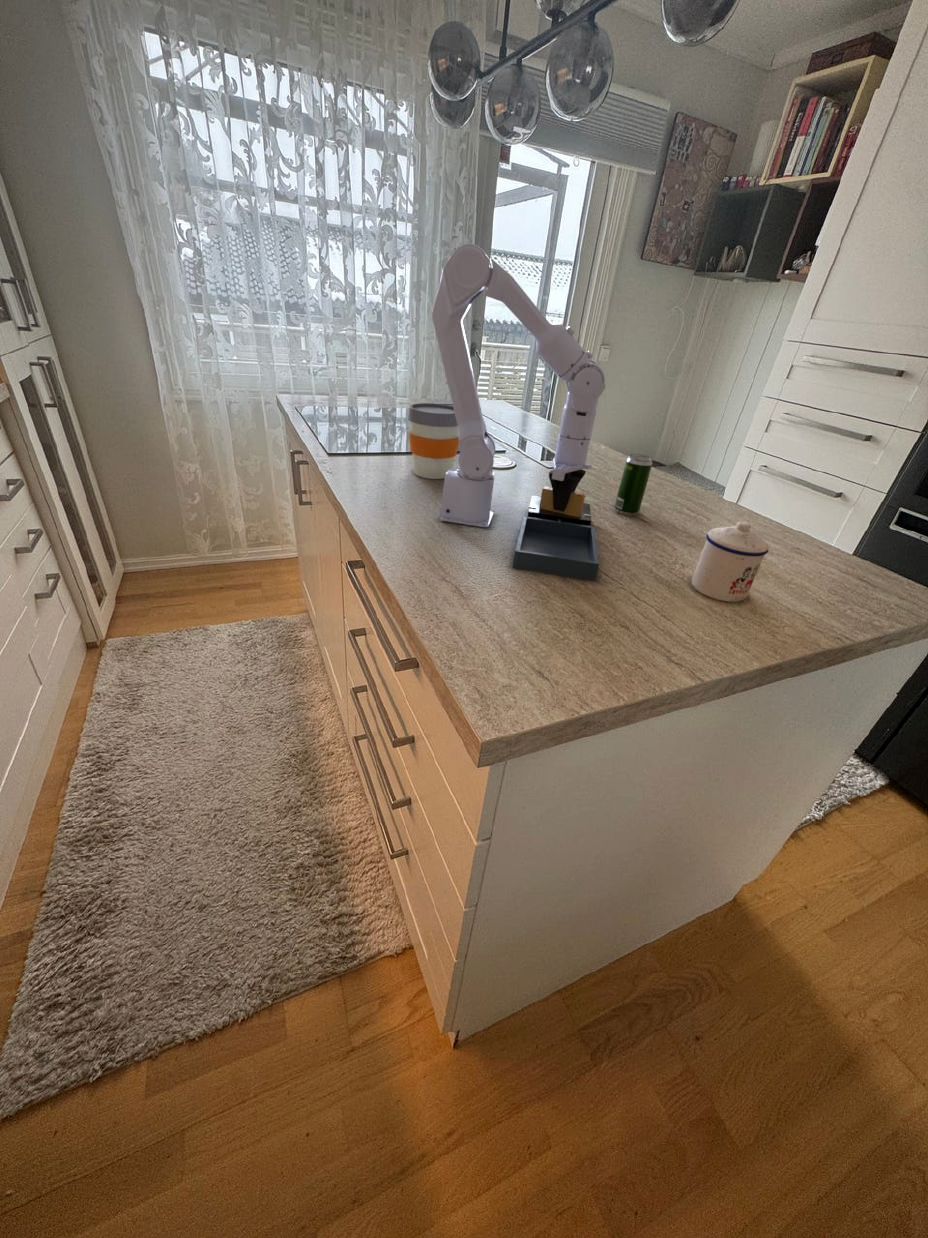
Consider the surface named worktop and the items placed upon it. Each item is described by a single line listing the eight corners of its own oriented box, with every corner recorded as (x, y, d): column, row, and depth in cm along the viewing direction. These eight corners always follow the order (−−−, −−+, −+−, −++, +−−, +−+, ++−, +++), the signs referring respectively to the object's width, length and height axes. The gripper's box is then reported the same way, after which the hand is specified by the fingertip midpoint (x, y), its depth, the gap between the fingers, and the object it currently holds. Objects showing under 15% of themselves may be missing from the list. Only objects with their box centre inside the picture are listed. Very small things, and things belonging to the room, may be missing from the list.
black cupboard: (528, 511, 109) (531, 494, 107) (586, 519, 108) (590, 503, 106) (523, 535, 98) (526, 517, 96) (588, 545, 96) (592, 526, 94)
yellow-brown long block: (539, 508, 101) (542, 486, 99) (541, 505, 102) (545, 484, 100) (578, 517, 98) (583, 496, 96) (581, 514, 100) (585, 493, 97)
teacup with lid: (734, 609, 80) (764, 539, 74) (679, 586, 85) (703, 519, 79) (762, 588, 87) (791, 523, 81) (710, 567, 92) (734, 505, 86)
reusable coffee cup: (457, 483, 121) (462, 416, 113) (403, 478, 120) (405, 410, 112) (458, 468, 131) (463, 405, 124) (409, 463, 131) (411, 400, 123)
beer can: (627, 517, 111) (642, 461, 105) (608, 509, 115) (622, 454, 109) (643, 514, 114) (659, 459, 108) (624, 506, 118) (638, 452, 111)
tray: (512, 568, 85) (515, 550, 84) (520, 531, 99) (523, 515, 98) (595, 581, 84) (599, 564, 82) (591, 541, 98) (595, 526, 96)
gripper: (587, 447, 86) (570, 524, 93) (605, 433, 97) (589, 502, 104) (546, 439, 88) (533, 515, 95) (569, 426, 99) (556, 495, 107)
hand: (560, 508), depth 100 cm, fingers closed on yellow-brown long block, 2 cm apart
